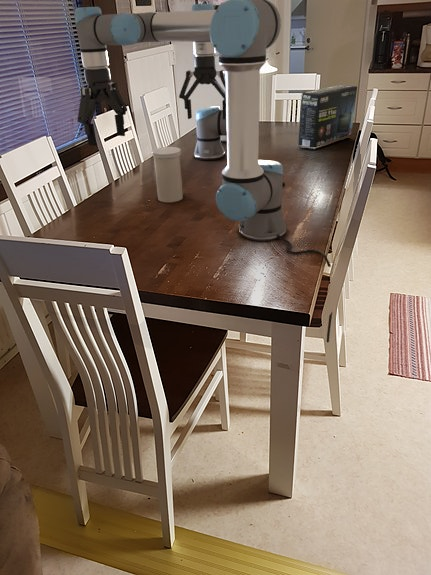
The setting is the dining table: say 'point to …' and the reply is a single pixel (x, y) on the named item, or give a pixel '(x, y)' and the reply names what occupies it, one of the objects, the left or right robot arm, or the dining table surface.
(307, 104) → the router box
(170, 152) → the lid
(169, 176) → the jar
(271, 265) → the dining table surface
